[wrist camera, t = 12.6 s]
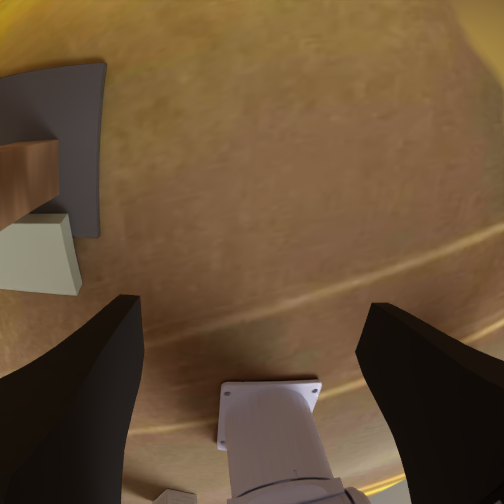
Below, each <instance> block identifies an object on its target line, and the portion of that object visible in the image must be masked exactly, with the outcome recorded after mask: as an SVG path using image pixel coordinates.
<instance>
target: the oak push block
mask: <svg viewBox="0 0 504 504" xmlns="http://www.w3.org/2000/svg"><path fill="white" fill-rule="evenodd" d="M58 195H59V140H42V141H29V142H18V143H12V144H7V145H2V146H0V231H2V230H3V229H5V228H6V227H8V226H9V225H11V224H12V223H14V222H15V221H17V220H18V219H20V218H21V217H23V216H25V215H26V214H28V213H29V212H31V211H33V210H34V209H36V208H38V207H39V206H41V205H42V204H44V203H46V202H48V201H49V200H51V199H53V198H54V197H56V196H58Z"/></svg>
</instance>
